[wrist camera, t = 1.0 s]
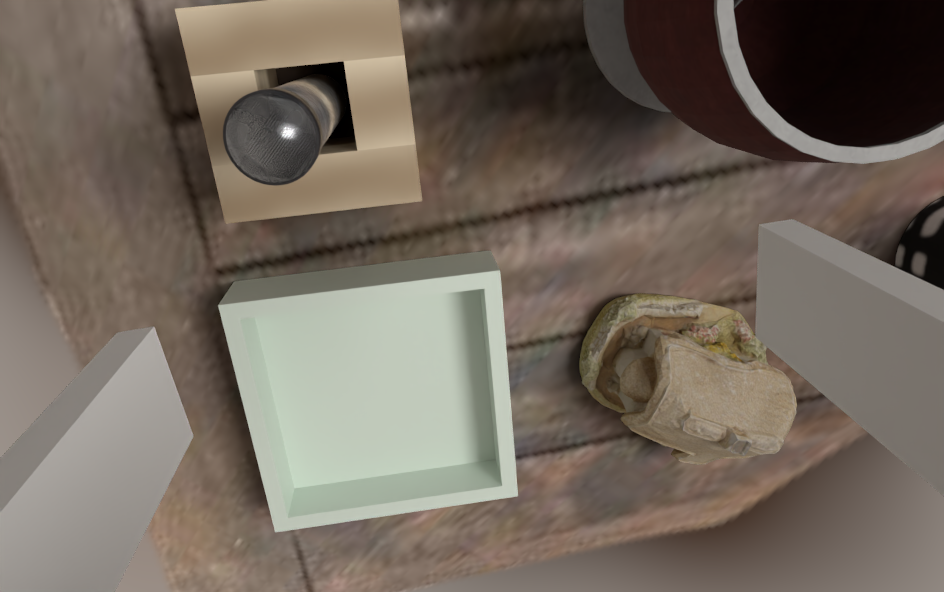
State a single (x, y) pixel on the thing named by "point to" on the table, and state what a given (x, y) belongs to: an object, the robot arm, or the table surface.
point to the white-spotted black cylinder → (924, 246)
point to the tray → (375, 387)
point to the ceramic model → (687, 377)
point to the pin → (283, 128)
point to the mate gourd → (782, 72)
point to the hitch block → (254, 68)
